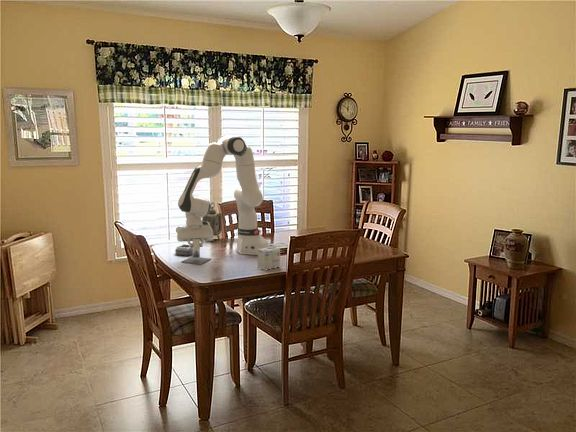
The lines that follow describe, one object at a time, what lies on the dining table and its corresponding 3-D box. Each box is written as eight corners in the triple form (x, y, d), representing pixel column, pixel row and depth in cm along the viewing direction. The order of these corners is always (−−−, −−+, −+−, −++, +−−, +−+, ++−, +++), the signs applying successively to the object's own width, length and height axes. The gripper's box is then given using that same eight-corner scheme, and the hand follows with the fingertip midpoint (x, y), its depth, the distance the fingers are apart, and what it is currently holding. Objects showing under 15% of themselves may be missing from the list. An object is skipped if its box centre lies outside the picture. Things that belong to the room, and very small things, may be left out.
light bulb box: (272, 265, 281) (273, 246, 279) (280, 267, 276) (280, 248, 274) (257, 268, 274) (257, 248, 272) (264, 271, 269) (264, 251, 267)
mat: (211, 259, 289) (211, 258, 288) (200, 264, 277) (200, 263, 277) (192, 257, 292) (192, 256, 292) (181, 262, 281) (181, 261, 281)
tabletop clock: (214, 242, 331) (214, 204, 327) (201, 241, 333) (201, 203, 329) (221, 237, 345) (221, 201, 341) (209, 236, 347) (209, 200, 343)
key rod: (201, 256, 286) (201, 238, 284) (197, 257, 282) (197, 240, 280) (194, 255, 287) (194, 238, 285) (191, 257, 283) (191, 239, 281)
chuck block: (199, 252, 304) (199, 245, 304) (189, 257, 293) (189, 249, 292) (182, 250, 308) (182, 243, 307) (171, 254, 297) (171, 247, 296)
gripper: (176, 223, 285) (177, 244, 277) (212, 222, 291) (215, 243, 283) (175, 229, 290) (176, 250, 282) (211, 228, 296) (213, 249, 288)
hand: (196, 246), depth 283 cm, fingers closed on key rod, 4 cm apart
